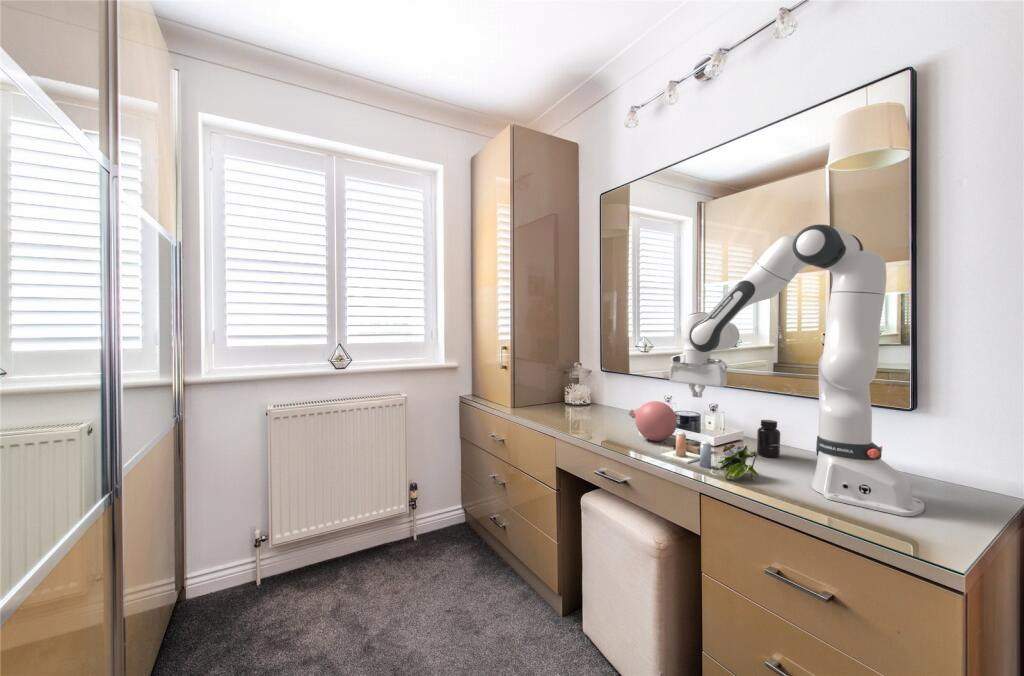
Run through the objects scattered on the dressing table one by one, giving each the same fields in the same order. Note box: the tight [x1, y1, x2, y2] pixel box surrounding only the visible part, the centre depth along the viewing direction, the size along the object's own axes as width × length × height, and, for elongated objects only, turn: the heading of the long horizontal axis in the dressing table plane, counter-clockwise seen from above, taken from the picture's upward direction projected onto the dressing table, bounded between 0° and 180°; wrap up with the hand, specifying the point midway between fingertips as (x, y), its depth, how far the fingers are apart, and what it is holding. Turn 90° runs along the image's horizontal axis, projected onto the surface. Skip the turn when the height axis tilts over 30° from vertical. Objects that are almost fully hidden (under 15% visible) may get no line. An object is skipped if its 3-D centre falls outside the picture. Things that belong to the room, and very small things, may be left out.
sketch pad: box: [660, 449, 700, 464], centre depth 144 cm, size 10×10×1 cm
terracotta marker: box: [675, 431, 687, 457], centre depth 143 cm, size 3×3×8 cm
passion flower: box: [717, 443, 759, 481], centre depth 124 cm, size 11×11×12 cm
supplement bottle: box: [756, 419, 781, 459], centre depth 145 cm, size 7×7×12 cm
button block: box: [686, 439, 701, 455], centre depth 151 cm, size 8×8×2 cm
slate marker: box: [699, 440, 712, 469], centre depth 134 cm, size 3×3×8 cm
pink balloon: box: [627, 400, 678, 442], centre depth 167 cm, size 15×20×15 cm
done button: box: [687, 440, 700, 446], centre depth 151 cm, size 4×4×3 cm
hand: (696, 397), depth 150 cm, fingers closed
